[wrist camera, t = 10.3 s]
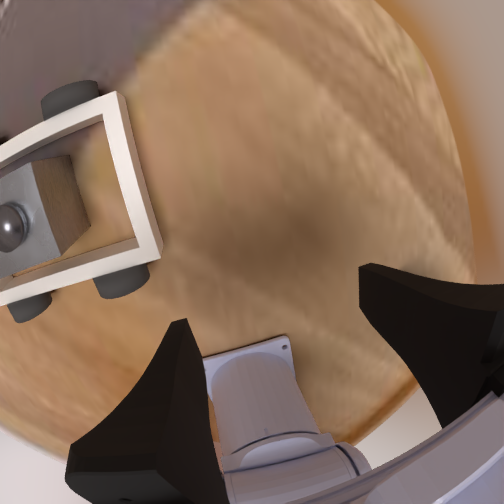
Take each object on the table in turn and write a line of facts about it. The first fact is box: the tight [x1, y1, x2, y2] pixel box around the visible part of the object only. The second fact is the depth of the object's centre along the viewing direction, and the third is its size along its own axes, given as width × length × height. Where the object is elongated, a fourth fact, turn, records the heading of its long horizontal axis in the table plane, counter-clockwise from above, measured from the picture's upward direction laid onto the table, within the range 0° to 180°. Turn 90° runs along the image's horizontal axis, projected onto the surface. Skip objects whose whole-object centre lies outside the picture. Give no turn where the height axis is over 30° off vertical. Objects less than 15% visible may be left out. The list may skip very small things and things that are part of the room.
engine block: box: [0, 155, 91, 279], centre depth 13 cm, size 5×5×6 cm
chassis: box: [0, 80, 164, 323], centre depth 15 cm, size 12×14×4 cm
